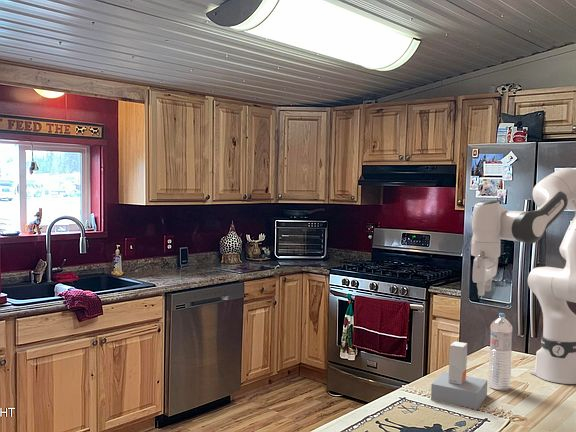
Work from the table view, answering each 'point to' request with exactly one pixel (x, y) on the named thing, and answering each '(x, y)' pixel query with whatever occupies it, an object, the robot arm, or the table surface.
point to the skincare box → (457, 363)
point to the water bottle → (500, 354)
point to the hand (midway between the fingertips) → (484, 293)
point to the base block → (459, 391)
